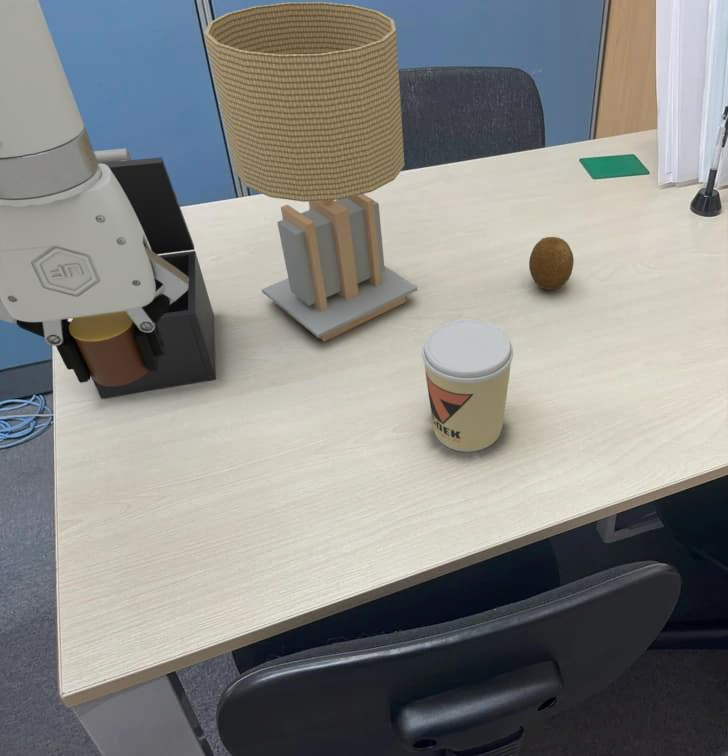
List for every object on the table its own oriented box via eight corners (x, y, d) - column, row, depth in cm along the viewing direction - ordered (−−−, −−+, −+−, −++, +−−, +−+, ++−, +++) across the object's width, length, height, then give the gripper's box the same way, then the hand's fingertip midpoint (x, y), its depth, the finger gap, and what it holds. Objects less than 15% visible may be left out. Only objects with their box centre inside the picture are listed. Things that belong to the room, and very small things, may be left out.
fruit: (536, 271, 105) (540, 223, 100) (576, 281, 103) (582, 233, 98) (521, 293, 101) (524, 243, 96) (562, 304, 99) (567, 254, 94)
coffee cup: (410, 420, 81) (404, 337, 73) (477, 388, 85) (478, 306, 77) (457, 470, 75) (455, 386, 67) (525, 434, 80) (532, 351, 72)
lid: (162, 162, 75) (159, 130, 77) (29, 175, 72) (30, 141, 74) (194, 249, 88) (191, 220, 90) (82, 264, 85) (81, 233, 87)
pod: (87, 391, 58) (64, 343, 55) (94, 355, 61) (73, 308, 58) (150, 381, 59) (131, 334, 56) (154, 346, 62) (136, 300, 59)
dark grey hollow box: (216, 379, 85) (195, 312, 79) (101, 399, 82) (69, 331, 75) (213, 314, 95) (195, 250, 88) (110, 329, 91) (83, 264, 85)
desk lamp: (358, 250, 108) (328, -7, 85) (442, 306, 98) (434, 31, 75) (241, 299, 97) (170, 21, 74) (321, 367, 87) (267, 70, 64)
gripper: (-133, 201, 43) (-1, 414, 55) (164, 172, 47) (226, 377, 59) (-94, 150, 49) (18, 355, 61) (169, 129, 53) (226, 325, 65)
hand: (120, 364), depth 60 cm, fingers closed on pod, 4 cm apart
